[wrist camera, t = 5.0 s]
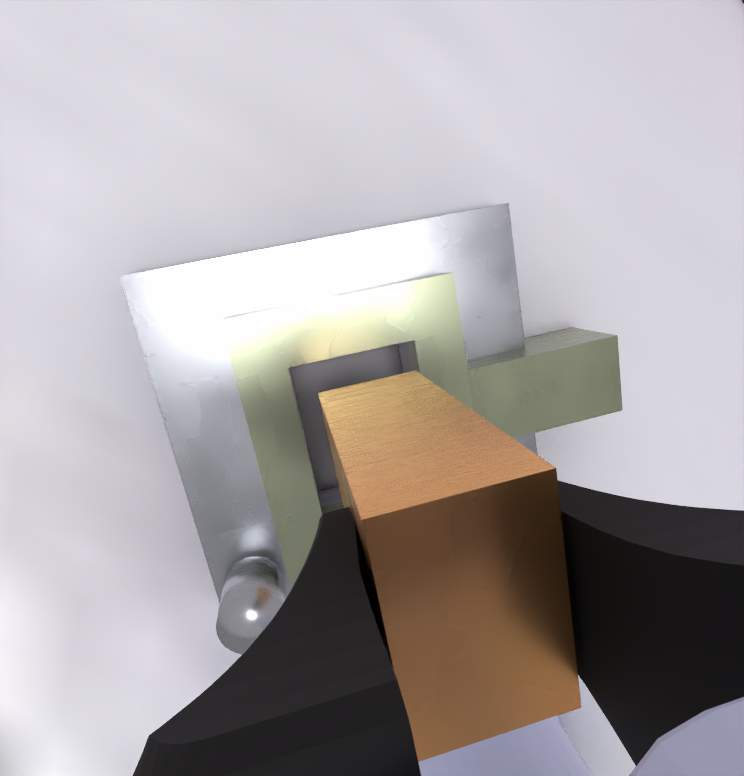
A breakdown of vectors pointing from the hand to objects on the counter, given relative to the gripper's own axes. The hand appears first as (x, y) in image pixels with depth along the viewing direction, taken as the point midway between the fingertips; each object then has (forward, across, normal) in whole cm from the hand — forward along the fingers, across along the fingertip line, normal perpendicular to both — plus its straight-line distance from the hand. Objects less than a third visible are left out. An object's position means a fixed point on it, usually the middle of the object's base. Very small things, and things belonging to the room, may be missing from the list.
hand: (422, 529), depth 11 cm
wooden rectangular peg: (+4, 0, 0) cm, 4 cm away
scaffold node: (+10, -2, 0) cm, 10 cm away
